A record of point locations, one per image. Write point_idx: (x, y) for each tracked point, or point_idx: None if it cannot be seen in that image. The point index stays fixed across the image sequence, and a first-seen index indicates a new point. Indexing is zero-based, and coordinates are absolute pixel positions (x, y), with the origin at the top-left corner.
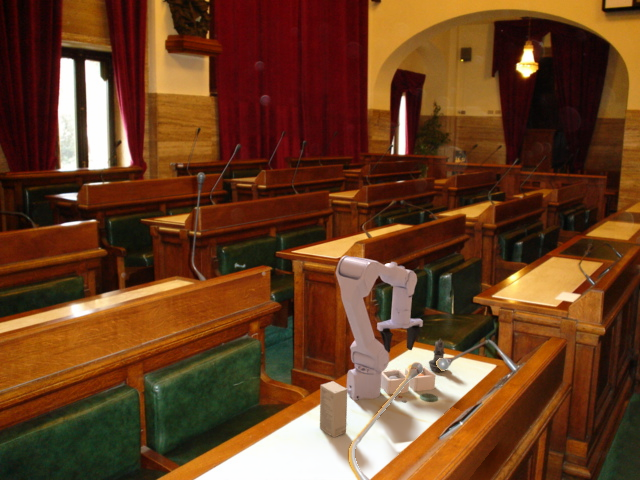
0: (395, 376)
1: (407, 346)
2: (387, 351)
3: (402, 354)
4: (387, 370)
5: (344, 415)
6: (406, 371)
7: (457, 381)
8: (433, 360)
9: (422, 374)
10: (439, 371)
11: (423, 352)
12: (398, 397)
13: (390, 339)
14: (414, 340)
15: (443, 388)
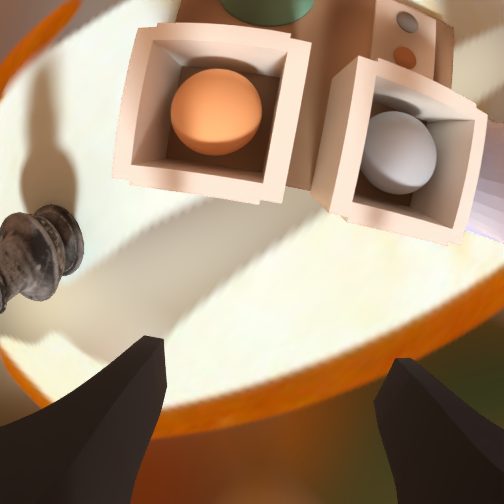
0: (406, 151)
1: (161, 392)
2: (419, 367)
3: None
4: (416, 235)
5: None
6: (285, 180)
7: (22, 149)
8: (32, 274)
9: (195, 95)
10: (44, 218)
11: (54, 388)
12: (414, 59)
13: (492, 449)
14: (79, 398)
15: (101, 97)
